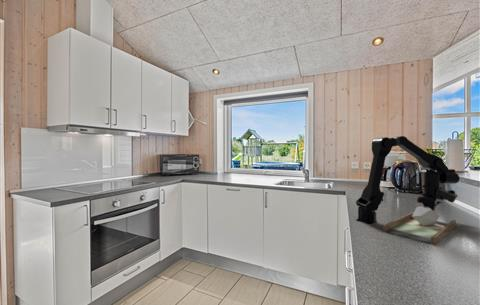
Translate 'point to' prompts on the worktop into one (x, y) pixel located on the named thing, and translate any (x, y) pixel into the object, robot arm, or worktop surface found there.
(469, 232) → the worktop surface
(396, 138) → the robot arm
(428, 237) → the box
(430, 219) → the die
